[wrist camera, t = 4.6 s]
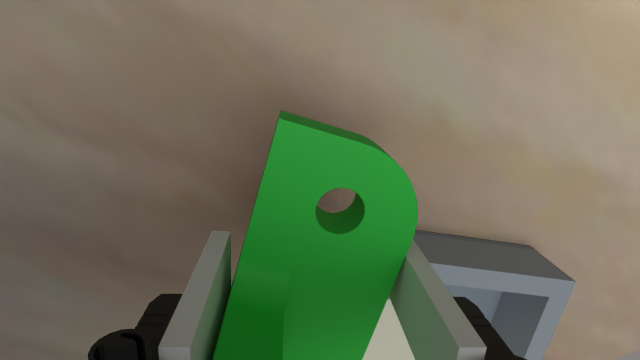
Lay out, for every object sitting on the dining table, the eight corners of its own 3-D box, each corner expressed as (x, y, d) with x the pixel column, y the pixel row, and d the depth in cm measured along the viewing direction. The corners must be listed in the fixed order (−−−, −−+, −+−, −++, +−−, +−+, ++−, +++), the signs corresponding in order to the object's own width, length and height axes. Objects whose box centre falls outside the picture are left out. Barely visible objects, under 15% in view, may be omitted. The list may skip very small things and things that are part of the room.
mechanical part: (332, 381, 18) (362, 607, 11) (211, 358, 17) (150, 589, 10) (423, 153, 15) (557, 247, 8) (280, 110, 14) (269, 168, 7)
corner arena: (308, 359, 36) (311, 413, 31) (337, 219, 32) (347, 252, 26) (480, 375, 38) (512, 428, 33) (530, 245, 34) (575, 281, 29)
